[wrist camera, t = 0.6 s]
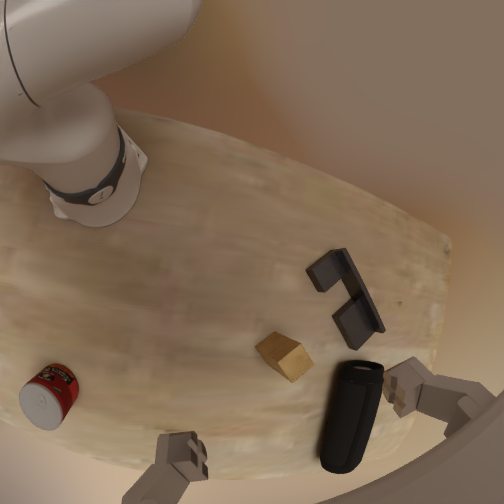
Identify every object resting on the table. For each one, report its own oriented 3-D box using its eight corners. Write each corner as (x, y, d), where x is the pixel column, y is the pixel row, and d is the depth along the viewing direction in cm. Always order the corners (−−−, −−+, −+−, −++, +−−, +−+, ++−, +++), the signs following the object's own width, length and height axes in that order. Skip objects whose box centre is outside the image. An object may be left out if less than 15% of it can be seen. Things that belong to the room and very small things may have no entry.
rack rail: (349, 348, 53) (364, 353, 48) (305, 270, 51) (319, 269, 46) (370, 327, 55) (385, 330, 50) (330, 250, 53) (345, 247, 48)
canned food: (78, 368, 36) (59, 392, 26) (80, 407, 35) (64, 437, 25) (41, 357, 34) (15, 377, 24) (44, 396, 33) (22, 422, 23)
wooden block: (254, 346, 47) (277, 362, 37) (274, 331, 48) (301, 343, 38) (267, 364, 47) (292, 383, 38) (286, 349, 48) (314, 364, 39)
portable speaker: (343, 450, 51) (367, 468, 42) (309, 458, 48) (331, 480, 39) (366, 357, 54) (397, 367, 45) (331, 360, 51) (362, 373, 42)
